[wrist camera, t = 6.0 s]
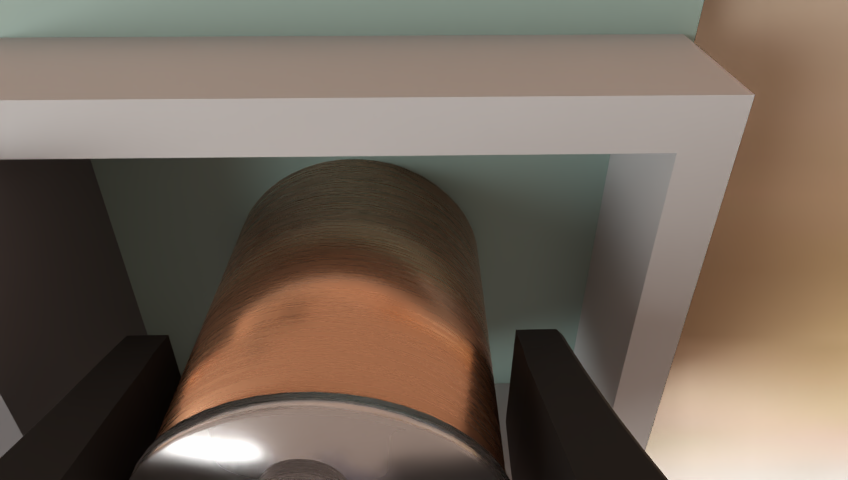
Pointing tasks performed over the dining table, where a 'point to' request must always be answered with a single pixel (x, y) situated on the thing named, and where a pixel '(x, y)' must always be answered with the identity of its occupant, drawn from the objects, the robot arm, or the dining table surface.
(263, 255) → the spout can
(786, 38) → the dining table surface
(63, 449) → the robot arm
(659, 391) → the grey green open box
